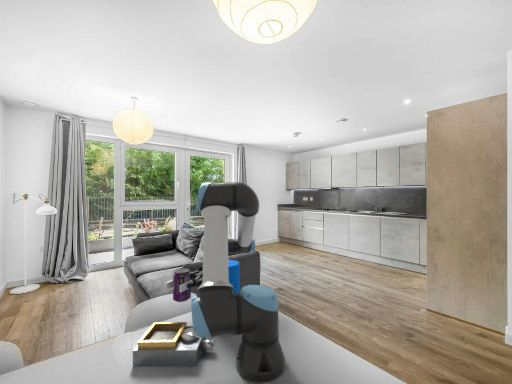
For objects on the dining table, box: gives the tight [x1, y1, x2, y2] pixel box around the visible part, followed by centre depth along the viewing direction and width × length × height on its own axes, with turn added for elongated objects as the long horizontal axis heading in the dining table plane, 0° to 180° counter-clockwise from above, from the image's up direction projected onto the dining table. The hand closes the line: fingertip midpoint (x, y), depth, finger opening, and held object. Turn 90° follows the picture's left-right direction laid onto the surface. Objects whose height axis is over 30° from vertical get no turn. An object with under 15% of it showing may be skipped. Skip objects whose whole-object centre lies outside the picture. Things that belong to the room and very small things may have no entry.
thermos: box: [228, 259, 241, 293], centre depth 100 cm, size 11×11×25 cm
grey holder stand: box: [132, 321, 216, 368], centre depth 82 cm, size 24×14×7 cm, turn 89°
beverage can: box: [172, 267, 192, 303], centre depth 100 cm, size 7×7×12 cm
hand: (173, 287), depth 95 cm, fingers closed on beverage can, 7 cm apart
